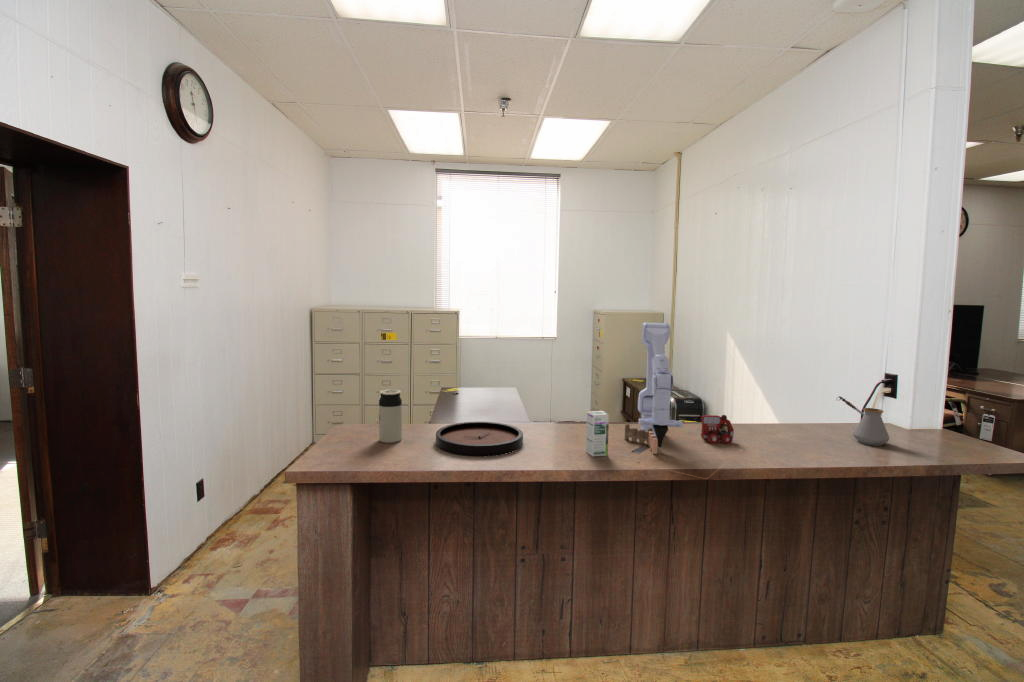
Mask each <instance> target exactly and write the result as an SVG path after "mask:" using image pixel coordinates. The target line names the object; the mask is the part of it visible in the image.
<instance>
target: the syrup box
mask: <svg viewBox="0 0 1024 682" xmlns="http://www.w3.org/2000/svg"><path fill="white" fill-rule="evenodd" d="M609 426H610V414H609V413H608V412H606V411H604V410H598V411H597V410H593V411H587V412H586V428H585V429H586V432H585V433H586V437H585V440H586V441H585V443H586V444H585V452H586V453H587V454H588V455H589V454H590V455H589V456H591V457H592V458H595V457H605V456H606V457H607V456H608V455H609V429H610V428H609Z"/></svg>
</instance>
